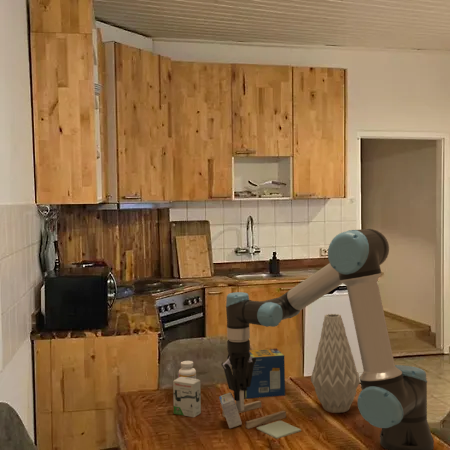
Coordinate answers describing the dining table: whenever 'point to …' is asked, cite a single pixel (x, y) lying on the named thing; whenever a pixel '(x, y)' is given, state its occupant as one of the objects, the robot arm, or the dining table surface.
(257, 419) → the slot rack
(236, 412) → the medicine box
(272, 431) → the sage mat
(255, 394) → the protein box
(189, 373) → the supplement bottle
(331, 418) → the dining table surface
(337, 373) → the vase
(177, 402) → the ink box
